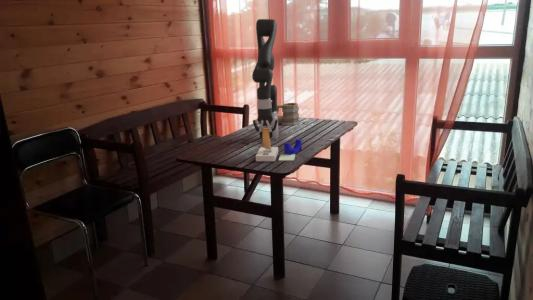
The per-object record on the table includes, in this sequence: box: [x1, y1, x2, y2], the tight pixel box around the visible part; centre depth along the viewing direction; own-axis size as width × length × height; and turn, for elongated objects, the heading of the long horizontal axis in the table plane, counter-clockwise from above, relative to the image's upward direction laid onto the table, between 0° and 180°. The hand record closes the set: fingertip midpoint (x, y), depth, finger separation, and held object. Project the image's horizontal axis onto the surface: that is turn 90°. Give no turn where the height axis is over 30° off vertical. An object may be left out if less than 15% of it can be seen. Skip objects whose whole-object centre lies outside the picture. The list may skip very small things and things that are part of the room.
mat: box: [278, 153, 296, 162], centre depth 235 cm, size 10×8×1 cm
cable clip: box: [283, 138, 303, 155], centre depth 243 cm, size 12×4×6 cm, turn 140°
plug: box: [261, 127, 272, 148], centre depth 236 cm, size 4×4×10 cm
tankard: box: [277, 102, 301, 127], centre depth 310 cm, size 20×13×15 cm, turn 84°
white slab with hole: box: [255, 146, 279, 162], centre depth 239 cm, size 16×10×3 cm, turn 171°
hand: (266, 138), depth 237 cm, fingers closed on plug, 4 cm apart
